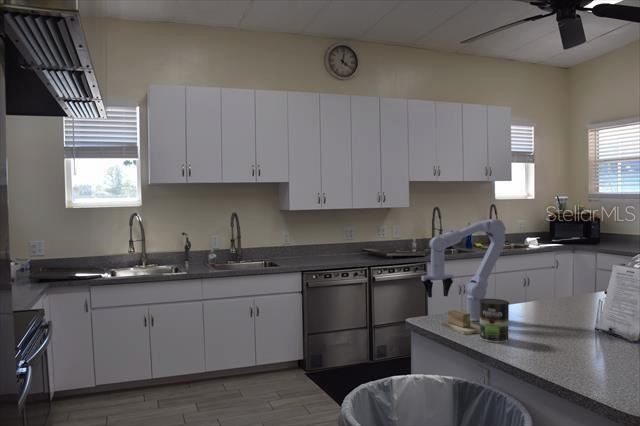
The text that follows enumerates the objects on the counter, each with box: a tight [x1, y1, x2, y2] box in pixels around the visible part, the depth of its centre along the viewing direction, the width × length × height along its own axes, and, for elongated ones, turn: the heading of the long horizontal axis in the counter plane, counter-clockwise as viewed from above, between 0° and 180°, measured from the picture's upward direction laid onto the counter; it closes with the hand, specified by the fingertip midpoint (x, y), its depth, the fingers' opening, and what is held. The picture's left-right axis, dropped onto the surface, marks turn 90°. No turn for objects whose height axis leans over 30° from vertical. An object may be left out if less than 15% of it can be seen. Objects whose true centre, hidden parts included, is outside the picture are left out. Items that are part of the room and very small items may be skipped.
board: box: [441, 320, 480, 335], centre depth 203 cm, size 12×16×1 cm
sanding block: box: [447, 309, 471, 328], centre depth 204 cm, size 4×8×5 cm, turn 30°
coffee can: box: [479, 298, 510, 344], centre depth 187 cm, size 10×10×14 cm
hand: (437, 296), depth 218 cm, fingers open, 7 cm apart
